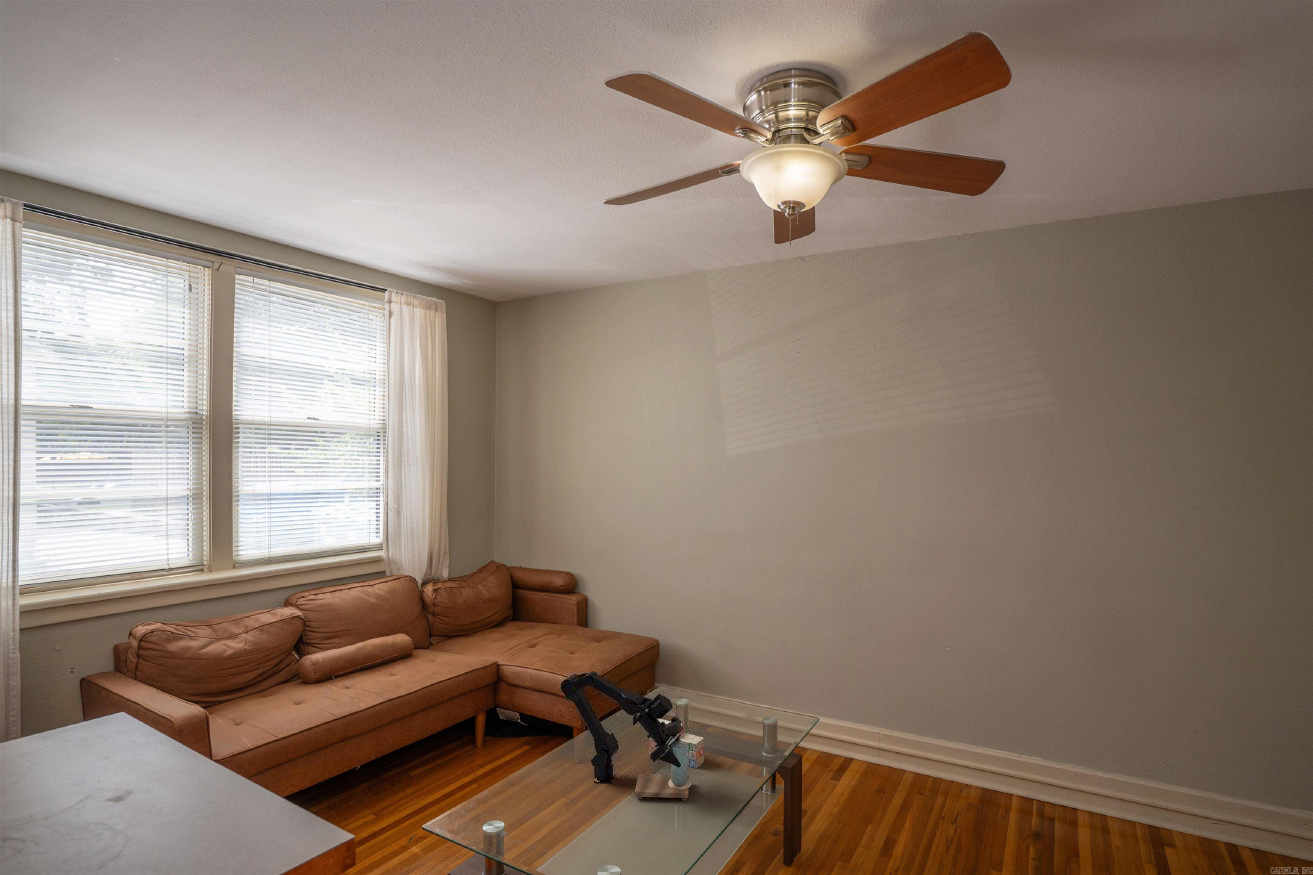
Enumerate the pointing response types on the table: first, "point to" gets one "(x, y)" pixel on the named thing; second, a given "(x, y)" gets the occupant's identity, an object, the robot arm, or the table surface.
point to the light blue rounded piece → (681, 754)
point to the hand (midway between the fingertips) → (682, 762)
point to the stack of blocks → (693, 747)
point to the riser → (660, 787)
